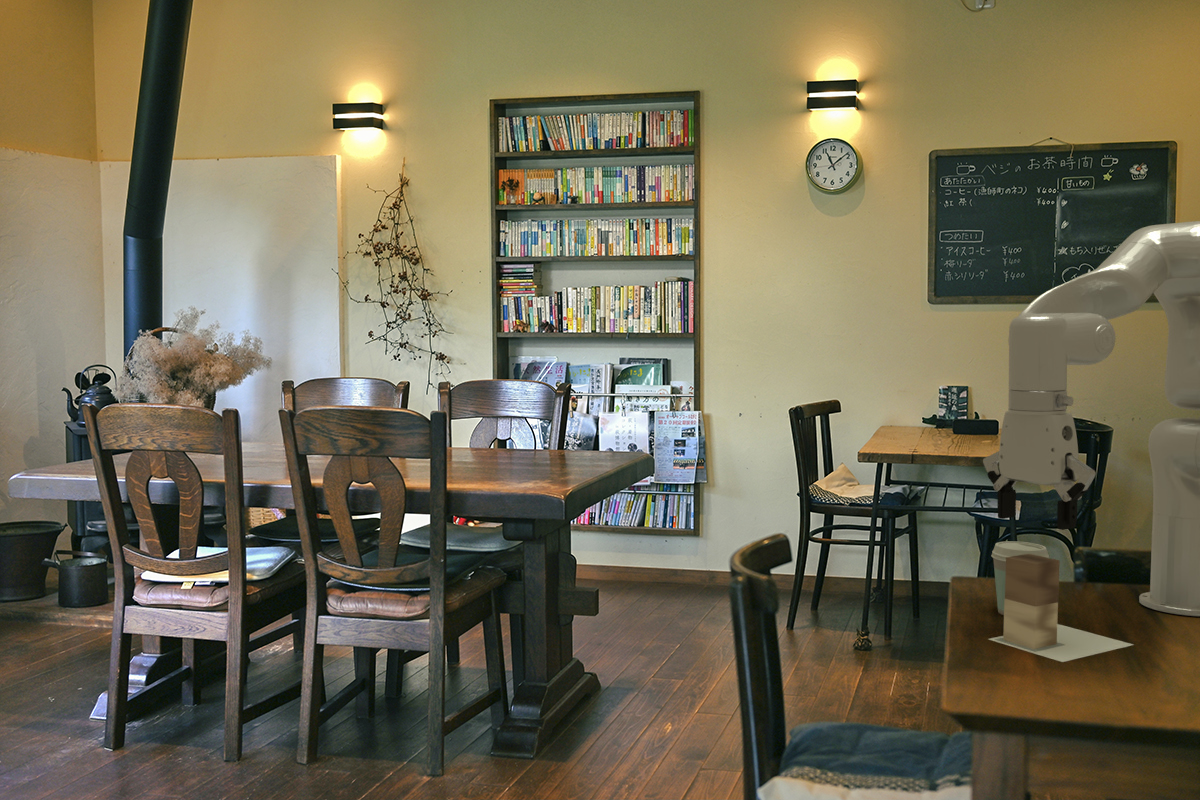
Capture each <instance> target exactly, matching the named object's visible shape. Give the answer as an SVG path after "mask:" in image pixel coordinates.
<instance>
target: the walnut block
mask: <svg viewBox="0 0 1200 800" xmlns="http://www.w3.org/2000/svg"><path fill="white" fill-rule="evenodd" d="M1060 561H1061V560H1060V559H1056V558H1055V559H1054V558H1050V557H1049V558H1046V557H1042V556H1037V555H1032V554H1024V555H1018V556H1011V557H1006V576H1005V599H1008V600H1012V601H1015V602H1019V603H1023V604H1027V605H1031V606H1035V607H1037V606H1042V605H1047V604H1052V603H1057V602H1058V603H1059V594H1060V593H1059V592H1060V567H1061V566H1060Z"/></svg>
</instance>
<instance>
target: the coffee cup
mask: <svg viewBox="0 0 1200 800" xmlns="http://www.w3.org/2000/svg"><path fill="white" fill-rule="evenodd" d="M991 552H992V553H991V555H990V556H991V557H992V559H993V560H992V561H993V568H994V570H993V571H994V581H995V592H996V602H997V604H996V605H997V611H998V614H1000V615H1002V616H1004V599H1005V576H1006V557H1011V556H1018V555H1024V554H1032V555H1037V556H1042V557H1046V558H1050V555H1049V553H1048V549H1047V547H1046V546H1044V545H1042V544H1038V543H1033V542H1027V541H1015V540H1014V541H1011V540H1010V541H1009V540H1008V541H1007V540H1006V541H999V542H996V543H995V545H994V548H993V550H992V551H991Z"/></svg>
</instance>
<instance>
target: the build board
mask: <svg viewBox="0 0 1200 800" xmlns="http://www.w3.org/2000/svg"><path fill="white" fill-rule="evenodd" d="M988 640H989V641H993V642H996V643H999V644H1003V645H1005V646H1009V647H1013V648H1016V649H1018V650H1021V651H1025V652H1028V653H1031V654H1035V655H1038V656H1041V657H1044V658H1047V659H1052V660H1055V661H1057V662H1061V663H1064V662H1069V661H1073V660H1077V659H1078V660H1079V659H1080V658H1085V657H1089V656H1094V655H1098V654H1102V653H1106V652H1110V651H1115V650H1117V649H1118V650H1119V649H1123V648H1128V647H1130V646H1134V644H1133V643H1130V642H1125V641H1122V640H1119V639H1115V638H1111V637H1107V636H1103V635H1099V634H1096V633H1093V632H1089V631H1086V630H1082V629H1077V628H1075V627H1071V626H1066V625H1063V624H1059V623H1057V644H1055V645H1050V646H1046V647H1041V648H1037V649H1031V648H1028V647H1025V646H1021V645H1018V644H1015V643H1012V642H1008V641H1005V640H1003V635H1000V636H997V637H991V638H988Z"/></svg>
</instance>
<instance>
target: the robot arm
mask: <svg viewBox="0 0 1200 800" xmlns="http://www.w3.org/2000/svg"><path fill="white" fill-rule="evenodd" d="M1152 295H1154V296H1155V298H1156V299H1157V300H1158V302H1159V304H1160V306H1161V307H1162V310H1163V312H1164V314H1165V316H1166V319H1167V320H1166V321H1167V326H1168V329H1167V330H1168V333H1167V334H1168V336H1167V349H1166V358H1165V359H1166V362H1165V372H1164V396H1165V399H1166V400H1167V402H1168V403H1169V404H1170V405H1172V406H1173V407H1175V408H1178V409H1184V410H1193V411H1200V220H1196V221H1185V222H1175V223H1173V222H1172V223H1163V224H1162V223H1161V224H1154V225H1147V226H1145V227H1141V228H1139V229H1137V230H1135V231H1133V232H1132V233H1131V234H1130V235H1129V236H1127V237H1126V239H1125V240H1123V242H1122V243H1121V244H1120V245H1119V246H1117V247H1116V249H1115V250H1114V251H1113V252H1112V253H1111V254H1110V255H1108V257H1107V258H1106V259H1105V260H1103V262H1102V263H1100V265H1098V266H1097V268H1095V269H1094V270H1091V271H1089V272H1086V273H1083V274H1081V275H1079V276H1077V277H1075V278H1073V279H1071V280H1069V281H1067V282H1064V283H1062V284H1060V285H1057V286H1055V287H1052V288H1050V289H1049V290H1046V291H1045V292H1044V293H1042V294H1040V295H1039V296H1038V297H1036V298H1035V299H1034V300H1032V301H1031V302H1030V303H1029V304H1028V305H1027V306H1026V307H1025V308H1024V309H1022V311H1020V313H1019V314H1018V316H1016V317H1014V318H1013V319H1012V320H1011V321H1010V324H1009V326H1008V328H1009V329H1008V339H1007V341H1008V407H1007V408H1008V410H1007V411H1005V412H1004V416H1003V420H1002V425H1001V431H1000V438H999V450H998V451H996V452H994V453H992V454H990V455H988V456H986V457H984V458H983V459H982V463H983V466H984V469H985V470H986V472H987V478H988V479H989V481H990V482H991V483H992V485H993V489H994V490H995V491H996V492H997V517H998V519H1002V520H1004V519H1009V518H1014V517H1016V515H1017V491H1016V489H1014V488H1013V487H1014V486H1015V485H1016V483H1017V482H1021V483H1028V484H1036V485H1042V486H1043V485H1044V486H1052V487H1053V488H1054V490H1055V491H1056V492H1057V493H1058V495H1059V497H1060V498H1061V500H1058V501H1057V509H1056V510H1057V513H1056V514H1057V517H1056V518H1057V523H1056V527H1057V529H1058V530H1061V531H1064V530H1070V529H1075V528H1076V527H1077V522H1078V501H1079V500H1081V499H1082V497H1083V495H1084V494H1085V493H1087V492H1088V491H1089V490H1090V486H1091V485H1092V483H1093V480H1094V479H1095V477H1096V473H1097V472H1096V470H1095V469H1093V468H1091V467H1090V466H1088V465H1087V464H1086V463H1085V462H1083V461H1081V460H1080V459H1079V446H1078V438H1077V430H1076V425H1075V420H1074V417H1073V413H1071V412H1070V413H1069V412H1067V410H1068V407H1072V406H1073V404H1074V398H1073V397H1072V396H1068V391H1067V386H1068V385H1067V383H1068V366H1091V365H1096V364H1098V363H1100V362H1103V361H1105V360H1106V359H1107V358H1108V357H1109V356H1110V355H1111V354H1112V352H1113V351H1114V348H1115V344H1116V339H1117V338H1116V337H1117V336H1116V331H1115V329H1114V326H1113V324H1112V323H1111V322H1110V321H1111V320H1113V319H1116V318H1120V317H1123V316H1126V315H1128V314H1131V313H1134V312H1136V311H1137V310H1139V309H1140V308H1141V307H1142V306H1143V305H1144V304H1145V303H1146V301H1148V300H1149V299H1150V298H1151V296H1152ZM1147 442H1148V455H1149V459H1150V466H1151V472H1152V473H1151V474H1152V487H1153V488H1152V489H1153V494H1152V496H1153V497H1152V498H1153V499H1152V500H1153V501H1152V523H1151V525H1152V526H1151V527H1152V528H1151V529H1152V530H1151V552H1150V553H1151V554H1150V555H1151V557H1150V559H1151V560H1150V579H1149V580H1150V582H1149V583H1150V584H1149V586H1150V588H1149V591H1148V592H1147V591H1146V592H1143V593H1140V594H1139V597H1138V598H1139V601H1138V602H1139V604H1141V605H1142V606H1144V607H1146V608H1149V609H1152V610H1154V611H1158V612H1162V613H1167V614H1174V615H1181V616H1188V617H1190V616H1191V617H1200V418H1195V417H1174V418H1169V419H1165V420H1161V421H1160V422H1158V423H1157V424H1155V426H1154V427H1153V428H1152V429H1151V431H1150V433H1149V436H1148V441H1147ZM1075 482H1076V483H1075Z"/></svg>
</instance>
